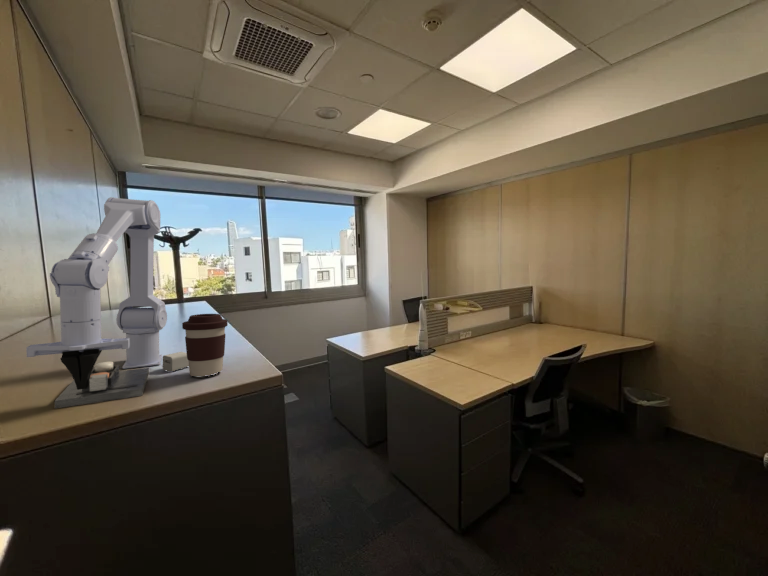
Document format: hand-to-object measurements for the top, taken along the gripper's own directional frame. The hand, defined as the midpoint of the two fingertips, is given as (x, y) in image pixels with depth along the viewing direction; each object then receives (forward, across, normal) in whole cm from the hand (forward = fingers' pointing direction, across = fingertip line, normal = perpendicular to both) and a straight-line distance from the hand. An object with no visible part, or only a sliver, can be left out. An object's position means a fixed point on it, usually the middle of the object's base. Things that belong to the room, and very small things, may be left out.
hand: (82, 387), depth 62 cm
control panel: (+3, +3, +5) cm, 6 cm away
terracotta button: (+1, +2, +5) cm, 5 cm away
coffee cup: (+3, +22, +6) cm, 23 cm away
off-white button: (0, +2, +10) cm, 10 cm away
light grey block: (+1, +2, 0) cm, 2 cm away
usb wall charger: (+3, +16, +15) cm, 22 cm away
